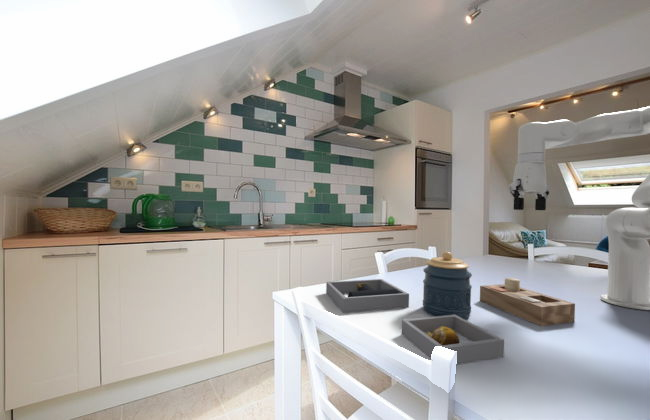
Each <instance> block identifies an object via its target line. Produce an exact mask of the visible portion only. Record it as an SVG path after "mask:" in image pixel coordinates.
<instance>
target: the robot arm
mask: <svg viewBox="0 0 650 420" xmlns="http://www.w3.org/2000/svg"><path fill="white" fill-rule="evenodd" d="M517 134H518V135H517V136H518V138H517V139H518V140H517V163H516V164H515V167H514V172H513V176H512V178H513V179H512V182H511V183H510V184H509V185H508V188H509V191H510V193H511V195H512V198H513V210H514V211H515V210H516V211H523V210H524V207H525V206H524V205H525V197H524V195H525V194H534V195H535V197H536V198H535V201H534V202H535V205H534V207H535V211H546V209H547V208H546V207H547V205H546V204H547V199H548V196H549V195H550V192H551V189H552V186H550V185H549V184H548V183H547V170H546V161H545V160H546V150H548V149H554V148H555V149H558V148H562V147H564V148H565V147H568V146H569V147H570V146H575V145H581V144H589V143H591V144H592V143H595V142H602V141H608V140H615V139H616V140H617V139H623V138H631V137H639V136H644V135H649V134H650V105H649V106H646V107H641V108H637V109H632V110H631V109H629V110H624V111H617V112H611V113H610V112H609V113H603V114H598V115H596V116H592V117H589V118H586V119H584V120H579V121H577V122H574V121H573V120H568V119H559V120H554V121H548V122H541V121H533V122H527V123H524V124H522V125H520V126H519V128H518V133H517ZM631 203H632V204H633V205H634V207H622V208H621V207H620V208H617V209H615V210H612V211H611V212H609V213H608V214H607V216H606V218H605V228H606V234H607V238H608V259H607V263H608V264H607V288H606V289H607V292H606V294H601V295H600V300H601V301H603V302H605V303H608V304H610V305H614V306H619V307H621V308H622V307H624V308H626V309H627V308H628V309H633V310H641V311H650V244H649V241H648V240H650V173H649V174H647V176H646V177H645V179H644V180H642V182H641V183H640V184H639V186H637V188H636V189H635V190H634V192H633V193H632V196H631ZM647 239H648V240H647Z"/></svg>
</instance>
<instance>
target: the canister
mask: <svg viewBox="0 0 650 420" xmlns="http://www.w3.org/2000/svg"><path fill="white" fill-rule="evenodd" d="M426 264H427V266H426V267H424V268H423V272H424V274H425V275H424V279H423V281H422V282H423V293H422V294H423V295H422V296H423V298H422V307H423V311H424V312H425V313H427V314H428V315H430V316H431V317H435V316H445V315H457V316H459V317H461V318H463V319H464V320H467V319H468V318H470V316H471V313H472V306H471V299H472V297H471V296H472V287H473V286H472V284H471V282H470V281H471V280H470V278H472V276H473V274H472V273H471V272H470V271H469V270H468V268H469V267H470V265H469V264H468V263H466V262H464V261H463V260H462V259H461V258H456V257H455V258H454V257H453V255H452V252H450V251H444V252H443V253H442V256H436V257H432V258H431V259H429V260H427V261H426Z"/></svg>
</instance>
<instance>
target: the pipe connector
mask: <svg viewBox="0 0 650 420" xmlns="http://www.w3.org/2000/svg"><path fill="white" fill-rule="evenodd" d="M386 294H399V293H398V291H397V290H396V289H382V290H375V289H374V288H372V286H371V285H370V284H368V283H362V284H357V290H356V291H350V292H349V293H347V297H358V296H372V295H386Z"/></svg>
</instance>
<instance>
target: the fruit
mask: <svg viewBox="0 0 650 420" xmlns="http://www.w3.org/2000/svg"><path fill="white" fill-rule="evenodd" d="M424 333H425V334H427V335H428V336H430V337H431V338H432V339H434V340H435V341H436V342H438V343H439V344H441V345H442V346H443V345H451V344H458V343H461V341H460V338H459V335H458V334H457V332H456V331H454V330H452V329H450V328H447V327H444V326H441V327H439V328H438V329H435V330H434V331H433V333H430V332H429V331H428V332H424Z"/></svg>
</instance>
